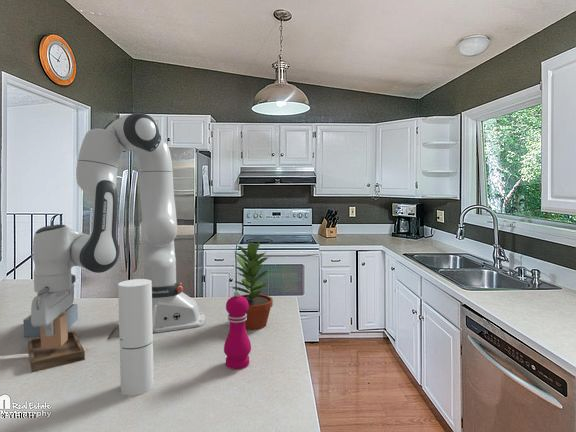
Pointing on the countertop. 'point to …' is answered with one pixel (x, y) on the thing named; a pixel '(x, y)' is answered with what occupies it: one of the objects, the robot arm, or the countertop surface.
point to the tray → (55, 353)
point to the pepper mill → (237, 333)
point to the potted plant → (253, 287)
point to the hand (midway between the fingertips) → (54, 331)
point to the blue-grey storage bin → (35, 331)
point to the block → (56, 333)
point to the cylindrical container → (136, 336)
